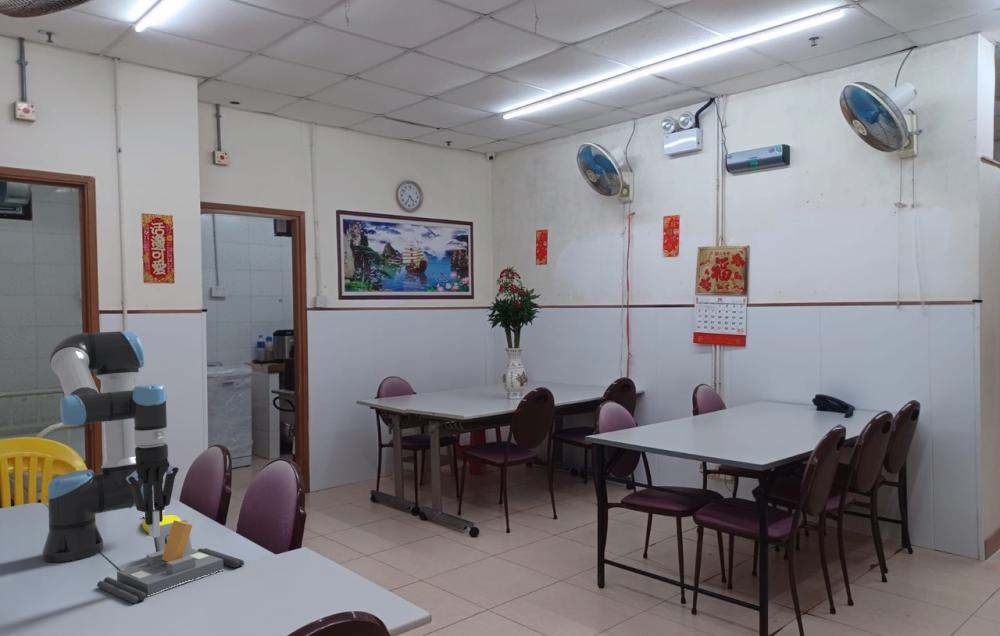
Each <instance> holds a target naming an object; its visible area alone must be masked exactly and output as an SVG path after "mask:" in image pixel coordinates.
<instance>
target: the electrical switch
mask: <svg viewBox="0 0 1000 636" xmlns="http://www.w3.org/2000/svg"><path fill="white" fill-rule="evenodd" d="M180 520H181V522H185V523H188V520H187V519H180ZM188 524H189V523H188ZM172 525H173V523H170V524H166V525H162V526H160V536H159V537H155V538H154V537H153V542H154V546H155V552H158V551H162V550H165V547H166V543H167V540H168V537H169V534H170V531H171V528H172ZM189 549H193V546H192V541H191V535H189V538H188V541H187V544H186V547H185V551H186V550H189Z"/></svg>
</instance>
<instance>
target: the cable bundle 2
mask: <svg viewBox="0 0 1000 636" xmlns="http://www.w3.org/2000/svg"><path fill="white" fill-rule="evenodd" d="M196 551H199V552H202V553H205V554H208V555H211V556H214V557H218V558H221V559H223V566H224V565H225V566H228V567H230V568H233V567H234V569H237V568H238V567H242V565H243V566H244V565H245V561H244V560H243V559H241V558H237V557H234V556H233V555H228V554H226V553H222V552H218V551H217V550H216V551H215V550H212V549H210V548H206V547H205V548H198V549H196ZM236 567H237V568H236Z"/></svg>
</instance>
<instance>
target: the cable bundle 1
mask: <svg viewBox="0 0 1000 636" xmlns="http://www.w3.org/2000/svg"><path fill="white" fill-rule="evenodd" d="M96 587H98V588H99V589H101V590H103V591H106V592H108V593H111V594H113V595H114V596H117V597H119V598H120V599H121V598H122V599H123V600H125V601H127V602H130V603H132V604H136V603H138V601H140V602H142V600H143V601H144V599H145V600H146V598H147V596H146V593H144V592H142V591H140V590H137V589H135V588H133V587H131V586H128V585H126V584H124V583H121V582H119V581H117V579H114V578H112V577H109V576H107V577H105V578H104V579H103V580H99V581H97V584H96Z"/></svg>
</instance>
